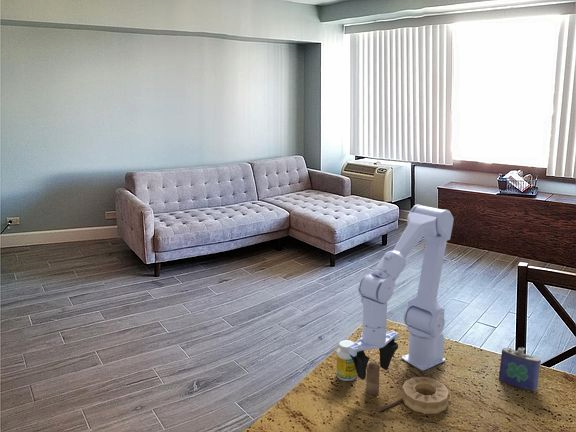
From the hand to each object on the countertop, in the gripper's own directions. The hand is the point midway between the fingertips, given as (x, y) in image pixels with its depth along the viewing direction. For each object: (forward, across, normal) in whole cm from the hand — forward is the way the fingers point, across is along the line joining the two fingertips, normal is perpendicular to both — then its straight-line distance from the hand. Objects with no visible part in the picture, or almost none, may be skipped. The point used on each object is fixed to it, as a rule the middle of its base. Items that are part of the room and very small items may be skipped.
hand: (372, 372), depth 125 cm
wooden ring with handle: (+5, -5, +10) cm, 12 cm away
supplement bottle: (+5, +1, -9) cm, 11 cm away
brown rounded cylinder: (+5, 0, 0) cm, 5 cm away
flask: (+5, -32, +19) cm, 38 cm away
